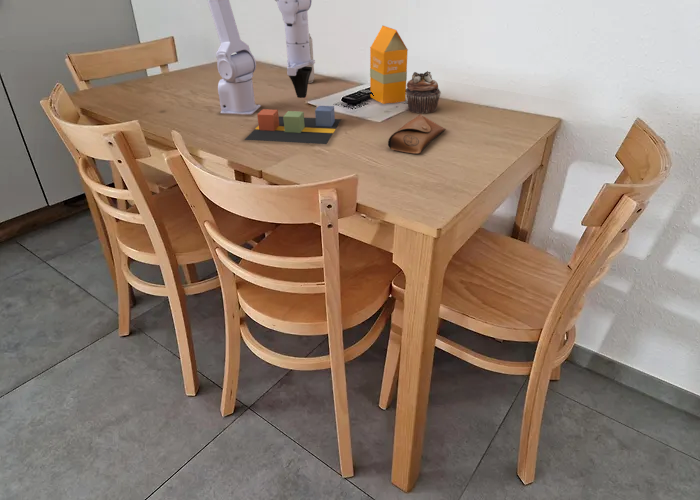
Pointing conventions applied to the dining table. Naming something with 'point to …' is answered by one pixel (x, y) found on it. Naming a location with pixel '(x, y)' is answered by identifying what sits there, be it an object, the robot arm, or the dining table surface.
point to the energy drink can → (311, 59)
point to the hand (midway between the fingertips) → (301, 97)
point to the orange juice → (388, 67)
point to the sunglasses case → (415, 135)
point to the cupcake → (422, 93)
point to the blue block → (325, 116)
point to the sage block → (294, 121)
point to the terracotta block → (268, 119)
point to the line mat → (306, 136)
